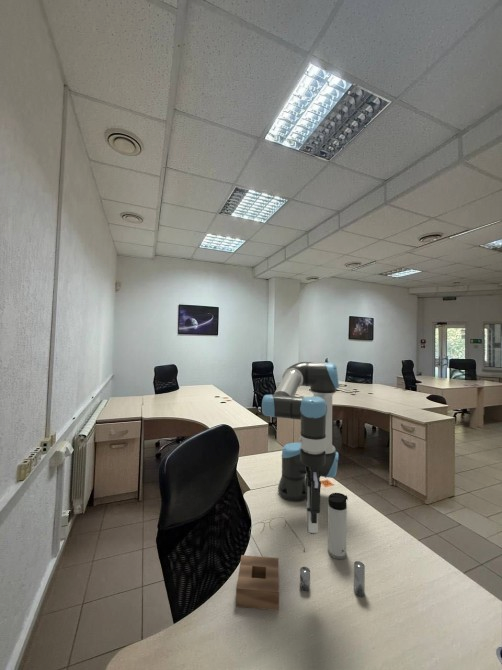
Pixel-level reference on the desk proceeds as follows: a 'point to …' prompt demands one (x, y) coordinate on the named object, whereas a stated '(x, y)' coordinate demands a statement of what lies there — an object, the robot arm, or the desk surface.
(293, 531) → the eyeglasses
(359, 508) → the desk surface
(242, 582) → the collar block
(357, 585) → the medium pin
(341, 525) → the travel mug
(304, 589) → the short pin
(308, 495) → the long pin
